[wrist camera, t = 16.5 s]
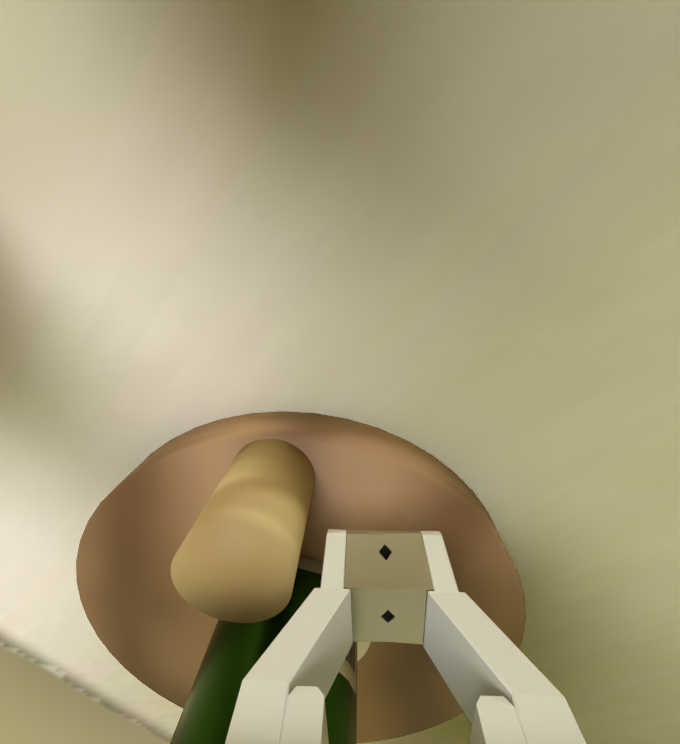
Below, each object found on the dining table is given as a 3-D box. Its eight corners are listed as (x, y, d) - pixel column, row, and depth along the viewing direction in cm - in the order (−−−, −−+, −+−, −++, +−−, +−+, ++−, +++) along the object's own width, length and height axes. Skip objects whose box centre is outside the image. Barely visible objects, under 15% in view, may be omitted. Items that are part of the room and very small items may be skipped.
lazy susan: (539, 409, 12) (696, 548, 6) (478, 704, 19) (528, 896, 13) (53, 411, 14) (-169, 526, 8) (162, 685, 21) (86, 850, 15)
